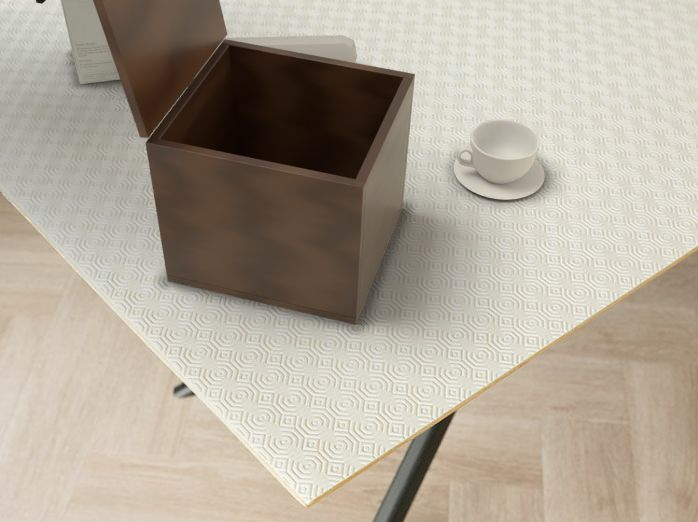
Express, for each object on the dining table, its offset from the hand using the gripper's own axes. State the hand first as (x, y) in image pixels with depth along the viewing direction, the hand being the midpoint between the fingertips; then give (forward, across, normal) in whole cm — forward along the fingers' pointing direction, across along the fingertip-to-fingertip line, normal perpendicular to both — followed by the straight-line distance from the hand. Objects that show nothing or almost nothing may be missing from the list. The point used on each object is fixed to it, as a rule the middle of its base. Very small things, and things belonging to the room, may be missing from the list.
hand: (97, 7), depth 107 cm
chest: (+8, -32, +24) cm, 41 cm away
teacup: (+8, -50, +6) cm, 51 cm away
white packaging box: (+8, 0, 0) cm, 8 cm away
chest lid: (-18, -21, +24) cm, 37 cm away
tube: (+8, -18, -4) cm, 20 cm away
